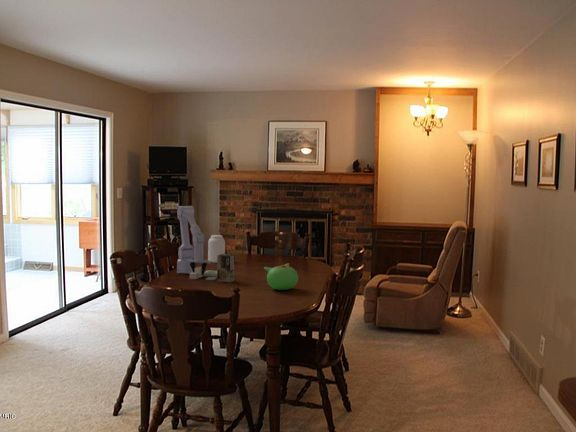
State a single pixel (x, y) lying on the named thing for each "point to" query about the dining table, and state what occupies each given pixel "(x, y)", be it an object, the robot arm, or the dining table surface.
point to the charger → (199, 271)
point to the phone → (211, 278)
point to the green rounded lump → (281, 277)
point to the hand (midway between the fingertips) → (198, 274)
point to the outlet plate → (210, 273)
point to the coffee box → (225, 268)
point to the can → (215, 247)
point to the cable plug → (194, 276)
